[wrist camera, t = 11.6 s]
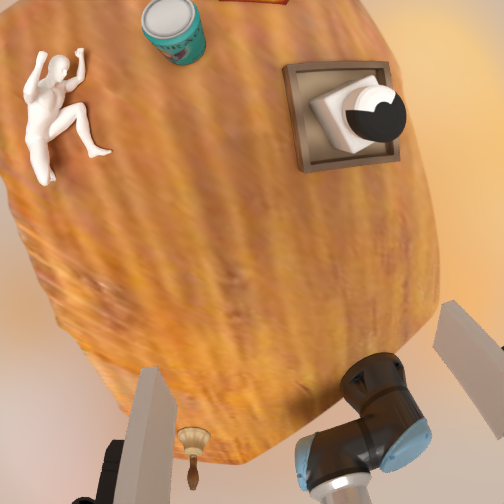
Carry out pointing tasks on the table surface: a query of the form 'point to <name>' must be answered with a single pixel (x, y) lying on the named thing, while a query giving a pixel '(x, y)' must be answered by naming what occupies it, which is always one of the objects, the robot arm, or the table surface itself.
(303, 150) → the crate
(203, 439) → the hand bell
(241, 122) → the table surface
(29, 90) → the person figurine
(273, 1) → the baking soda box
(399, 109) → the container
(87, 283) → the table surface
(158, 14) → the beverage can
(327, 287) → the table surface
